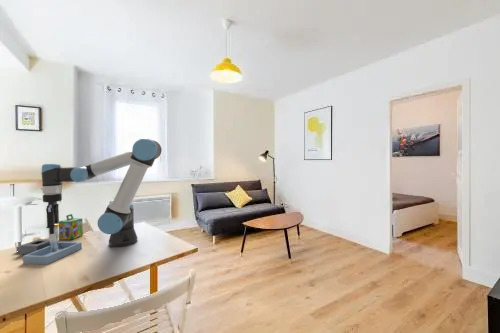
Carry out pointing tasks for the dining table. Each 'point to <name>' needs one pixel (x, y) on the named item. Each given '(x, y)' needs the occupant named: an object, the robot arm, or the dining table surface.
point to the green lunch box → (70, 228)
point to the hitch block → (33, 246)
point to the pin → (54, 241)
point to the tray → (51, 253)
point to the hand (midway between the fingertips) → (53, 238)
